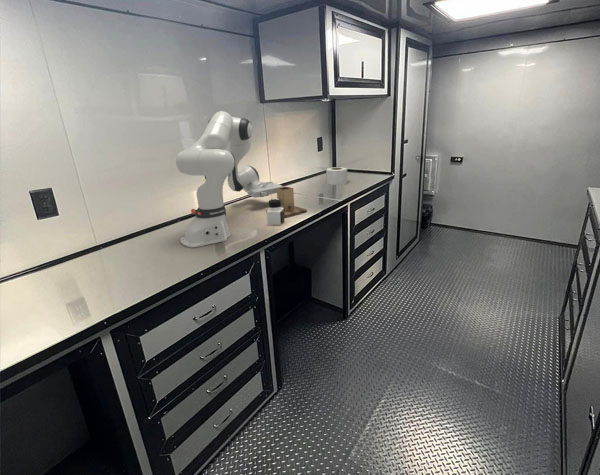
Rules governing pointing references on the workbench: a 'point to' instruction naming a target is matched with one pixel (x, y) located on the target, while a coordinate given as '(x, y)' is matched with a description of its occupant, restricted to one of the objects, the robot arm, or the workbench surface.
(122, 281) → the workbench surface
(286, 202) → the sleeve
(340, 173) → the white paper roll
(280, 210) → the medicine bottle
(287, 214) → the post board
